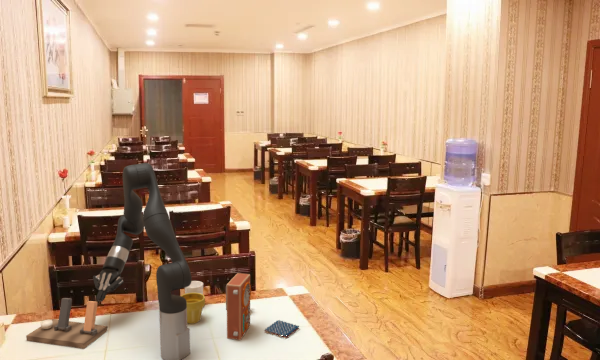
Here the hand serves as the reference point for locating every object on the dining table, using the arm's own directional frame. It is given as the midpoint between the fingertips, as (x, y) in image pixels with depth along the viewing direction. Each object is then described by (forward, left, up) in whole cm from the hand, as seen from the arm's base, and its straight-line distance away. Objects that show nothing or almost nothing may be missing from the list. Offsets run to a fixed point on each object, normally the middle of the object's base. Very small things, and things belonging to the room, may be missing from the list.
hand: (99, 300), depth 189 cm
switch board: (+7, +9, -12) cm, 17 cm away
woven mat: (-61, -34, -13) cm, 71 cm away
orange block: (-2, +7, -9) cm, 11 cm away
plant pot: (-25, -24, -12) cm, 37 cm away
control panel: (-47, -25, -12) cm, 55 cm away
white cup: (-17, -35, -12) cm, 41 cm away
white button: (+16, +12, -10) cm, 22 cm away
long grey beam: (+9, +10, -9) cm, 16 cm away
